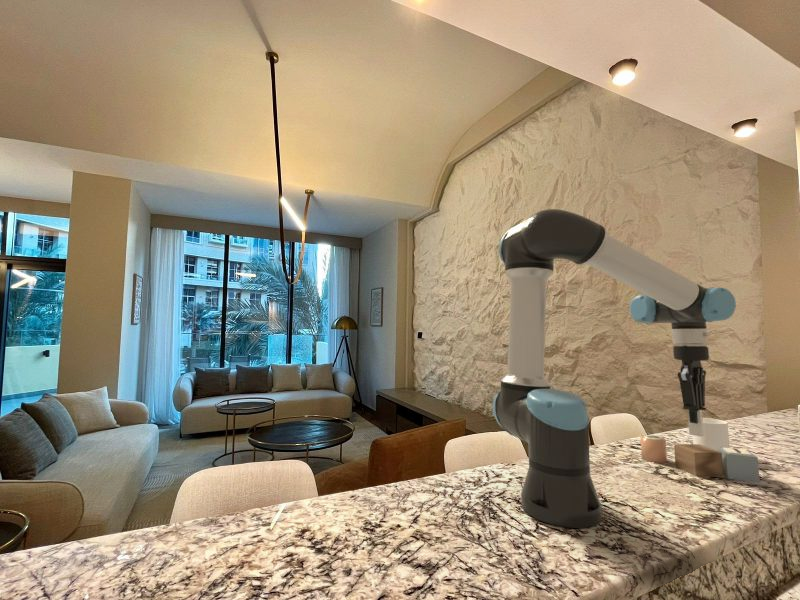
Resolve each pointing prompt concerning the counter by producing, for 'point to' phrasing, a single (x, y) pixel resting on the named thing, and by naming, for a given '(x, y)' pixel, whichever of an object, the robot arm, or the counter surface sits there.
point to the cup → (713, 434)
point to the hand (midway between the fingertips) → (696, 435)
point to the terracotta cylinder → (653, 449)
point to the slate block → (740, 464)
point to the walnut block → (698, 460)
